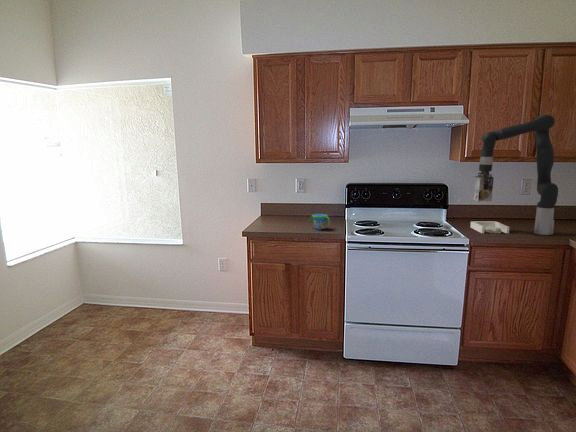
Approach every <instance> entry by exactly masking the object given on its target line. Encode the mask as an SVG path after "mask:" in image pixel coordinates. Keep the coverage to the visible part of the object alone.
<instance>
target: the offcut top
mask: <svg viewBox="0 0 576 432" xmlns="http://www.w3.org/2000/svg"><path fill="white" fill-rule="evenodd" d="M486 229H489V230H493V231H501V228H498V227H493V226H486Z"/></svg>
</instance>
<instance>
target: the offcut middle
mask: <svg viewBox="0 0 576 432" xmlns="http://www.w3.org/2000/svg"><path fill="white" fill-rule="evenodd" d="M502 232H503V231H502V230H501V231H493V230H489V229H486V228H484V233H492V234H501V233H502Z"/></svg>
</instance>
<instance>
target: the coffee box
mask: <svg viewBox="0 0 576 432" xmlns="http://www.w3.org/2000/svg"><path fill="white" fill-rule="evenodd" d="M486 178H487V177H482V176H478V175H475V180H474V191H473V201H476V202H492V198H493V190H494V189H493V188H494V176H491V183H489V184H488V190H484V184H485V183H484V182H485V181H484V179H486Z"/></svg>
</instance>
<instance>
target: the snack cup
mask: <svg viewBox="0 0 576 432" xmlns="http://www.w3.org/2000/svg"><path fill="white" fill-rule="evenodd" d="M312 221H313V227H314V230H316V229H317V230H316V231H323V230H322V229H324V230H325V229H326V225H328V226H330V225H331V219H330V217H329V216H328V214H325V213H315V214H312V215H311V216H310V217H309V224H312ZM327 221H328V224H327Z"/></svg>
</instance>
